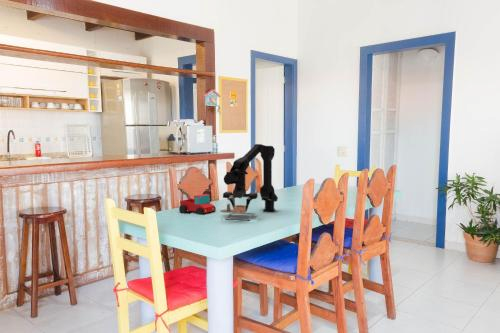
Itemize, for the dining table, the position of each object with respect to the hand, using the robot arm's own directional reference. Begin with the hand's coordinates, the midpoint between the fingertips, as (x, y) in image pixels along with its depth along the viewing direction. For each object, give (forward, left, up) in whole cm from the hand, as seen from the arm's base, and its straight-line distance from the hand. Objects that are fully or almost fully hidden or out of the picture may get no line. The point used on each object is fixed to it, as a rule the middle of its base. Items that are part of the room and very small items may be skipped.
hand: (240, 210), depth 219 cm
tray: (0, 0, -4) cm, 4 cm away
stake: (-12, -10, -4) cm, 16 cm away
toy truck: (-8, -28, -5) cm, 29 cm away
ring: (0, 0, -1) cm, 1 cm away
